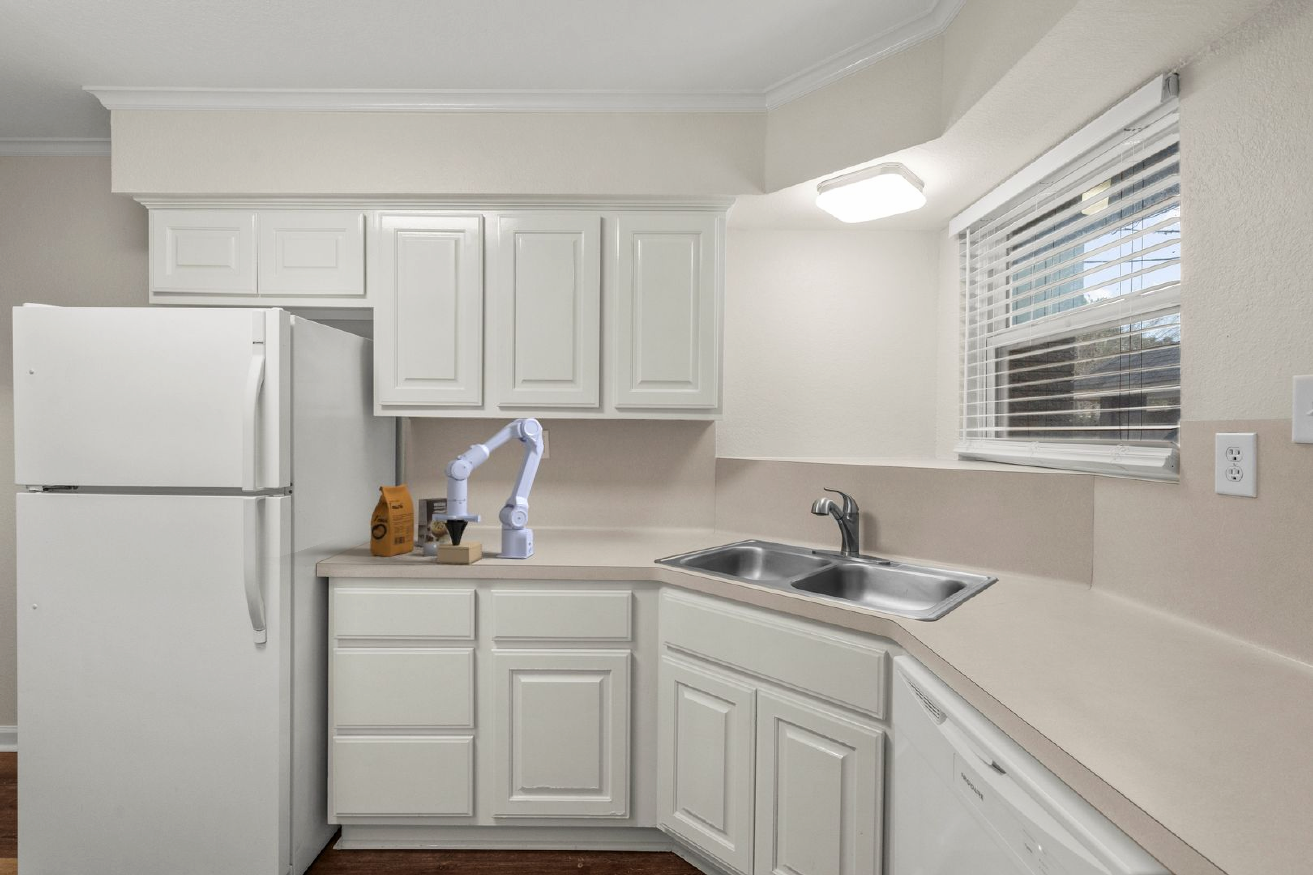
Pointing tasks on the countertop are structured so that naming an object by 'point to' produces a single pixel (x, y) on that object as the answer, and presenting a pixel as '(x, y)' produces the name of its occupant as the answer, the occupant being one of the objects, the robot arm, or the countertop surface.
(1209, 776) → the countertop surface
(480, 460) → the robot arm
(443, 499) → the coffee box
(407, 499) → the coffee package
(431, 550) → the grey rounded cylinder
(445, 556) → the box
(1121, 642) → the countertop surface
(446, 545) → the lid
